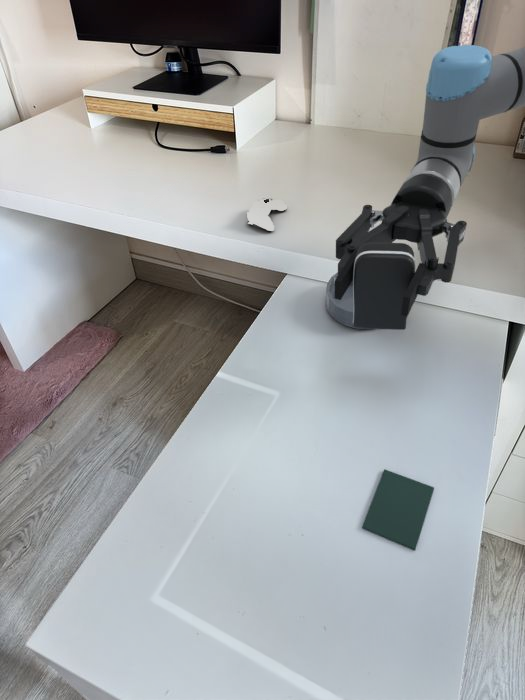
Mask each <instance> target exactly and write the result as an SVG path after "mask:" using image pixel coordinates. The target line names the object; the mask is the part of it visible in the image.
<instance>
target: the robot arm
mask: <svg viewBox="0 0 525 700" xmlns="http://www.w3.org/2000/svg"><path fill="white" fill-rule="evenodd" d="M427 78H428V79H427V83H426V85H425V86H426V88H425V100H424V101H425V102H424V113H423V121H422V122H423V123H422V130H421V133H420V140H419V147H418V155H417V159H416V162H415V164H414V165H413V167H412V169H411V171H409V173H408V175H407V177H406V178H405V180H404V181H403V182H402V184H401V186H400V188H399V190H397V193H396V194H395V196H394V197H393V199H392V201H391V203H390V205H388V206H386V207H385V208H383V210H375V209H374V210H373V205H372V204H365V205H363V206H362V211H361V213H360V214H359V216H357V218H356V219H355V220H354V221H353V222H352V223H350V225H349V226H348V227H347V228H346V229H345V230H343V232H342V233H341V234H340V235H339V236H338V237H337V238H336V239H335V258H336V259H337V260H338V263H337V272H338V276H337V278H336V280H335V299H338V300H341V299H342V297H343V295H344V294H345V292H346V290H347V289H348V287H349V285H350V284H351V282H352V280H353V273H354V263H355V259H356V254H357V250H358V249H359V247H360V246H362V245H363V244H365V243H374V242H387V243H394V242H395V241H396V240H399V241H408V242H410V243H415V244H416V245H417V251H418V252H419V256H420V262H419V263H418V266H417V268H416V269H415V274H414V276H413V278H412V280H411V282H410V284H409V286H408V288H407V290H406V292H405V294H404V296H403V302H402V310H401V315H402V316H406V317H407V318H408V317H409V314H410V313H411V311H412V308H413V306H414V304H415V301H416V299H417V297H418V296H421V297H422V296H423V297H426V296H427V295H428V294H429V293H430V290H431V288H432V286H433V283H434V282H435V281H436V280H441V282H443V283H447V284H448V283H451V282H452V280H453V275H454V270H455V265H456V260H457V255H458V249H459V246H460V245H461V244H462V243H463V241H464V238H465V234H466V230H467V225H468V223H467V222H466V221H465V220H458V221H457V222H455V224H454V223H451V222H448V219H447V218H448V216H449V215H450V212H451V209H452V207H453V205H454V203H455V201H456V199H457V197H458V195H459V192H460V191H461V188H462V186H463V184H464V182H465V180H466V177H468V174H469V173H470V172H471V170H472V167H473V163H474V159H475V155H476V147H475V141H476V137H477V133H478V128H479V124H480V121H481V120H484V119H487V118H490V117H493V116H496V115H499V114H503V113H507V112H508V111H512V110H515V109H519V108H522V107H525V46H522V47H519V48H516V49H513V50H511V51H507V52H504V53H499V54H496V55H492V53H491V52H490V50H489V49H488V48H486V47H483V46H480V45H474V44H462V45H451V46H448V47H445V48H443V49H442V48H441V49H440V50H439V51H437V53H436V54H435V55H434V56H433V58H432V60H431V64H430V69H429V72H428V77H427ZM378 222H381V223H379V224H378V225H377V226H375V225H376V224H377V223H378ZM370 229H371V230H370ZM443 233H444V237H445V238H446V242H447V245H446V249H445V250H446V251H445V256H444V260H443V263H441V262H440V263H439V259H440V257H437V253H436V247H435V243H434V237H437V236H439V235H442V234H443Z"/></svg>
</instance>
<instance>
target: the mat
mask: <svg viewBox="0 0 525 700" xmlns="http://www.w3.org/2000/svg"><path fill="white" fill-rule="evenodd" d="M434 490H435V487H434V486H431V485H429V484H426V483H423V482H420V481H417V480H415V479H412V478H410V477H406V476H404V475H402V474H399V473H396V472H394V471H391V470H388V469H386V468H385V469H383V471H382V474H381V477H380V480H379V482H378V485H377V488H376V490H375V493H374V495H373V497H372V500H371V503H370V505H369V507H368V510H367V513H366V516H365V518H364V521H363V523H362V526H361V529H363V530H366V531H368V532H371V533H373V534H375V535H378V536H380V537H382V538H385V539H387V540H390V541H392V542H394V543H397V544H399V545H401V546H403V547H406V548H408V549H411V550H414V551H416V549H417V547H418V546H417V545H418V542H419V539H420V537H421V536H420V535H421V533H422V529H423V527H424V523H425V520H426V516H427V513H428V511H429V506H430V503H431V499H432V496H433V493H434V492H435V491H434Z"/></svg>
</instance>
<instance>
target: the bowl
mask: <svg viewBox="0 0 525 700" xmlns="http://www.w3.org/2000/svg"><path fill="white" fill-rule="evenodd" d="M337 276H338V271H337V272H336V273H334V274H333V275H332V276H331V277H330V278H329V280H328V282H327V283H326V288H325V306H326V309H327V312H328V314H329V315H330V316H331V317H332V318H333V320H334V321H336V322H338V323H339V324H341V325H344V326H346V327H350V328H353V329H358V330H359V329H362V330H371V329H370V328H359V327H354V325H353V313H354V302H353V280H352V282H351V284H350V285H349V287H348V289H347V290H346V292H345V294H344V295H343V297H342V299H341V300H338V299H335V280H336V278H337Z"/></svg>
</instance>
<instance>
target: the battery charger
mask: <svg viewBox="0 0 525 700" xmlns="http://www.w3.org/2000/svg"><path fill="white" fill-rule="evenodd" d="M415 272H416V259H415V252H414V250H413V247H411V245H409V244H407V243H403V242H392V243H387V242H374V243H365V244H363V245H362V246H360V247H359V249H358V250H357V254H356V259H355V263H354V273H353V302H354V313H353V325H354V327H359V328H370V329H369V330H371V329H372V330H390V331H391V330H394V331H396V330H398V331H399V330H401V331H403V330H406V328H407V325H408V317H406V316H402V315H401V310H402V302H403V296H404V294H405V292H406V290H407V288H408V286H409V284H410V282H411V280H412V278H413V276H414V274H415Z"/></svg>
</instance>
